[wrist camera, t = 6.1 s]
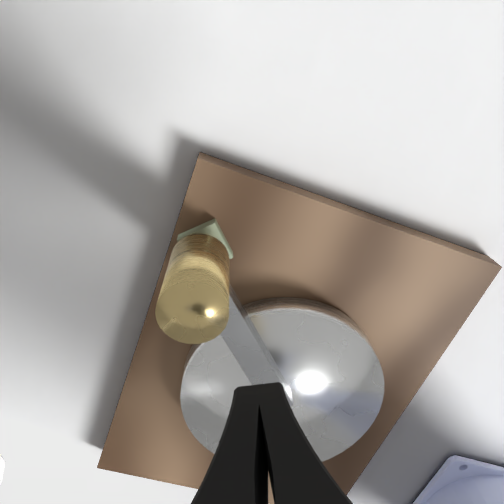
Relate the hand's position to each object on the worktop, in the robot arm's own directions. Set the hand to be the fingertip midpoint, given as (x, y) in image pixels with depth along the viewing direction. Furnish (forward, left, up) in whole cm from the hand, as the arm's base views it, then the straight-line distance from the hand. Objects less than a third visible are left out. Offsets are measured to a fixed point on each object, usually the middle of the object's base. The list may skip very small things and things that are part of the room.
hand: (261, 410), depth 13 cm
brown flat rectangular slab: (-3, +5, -9) cm, 11 cm away
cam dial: (-2, +3, -8) cm, 9 cm away
